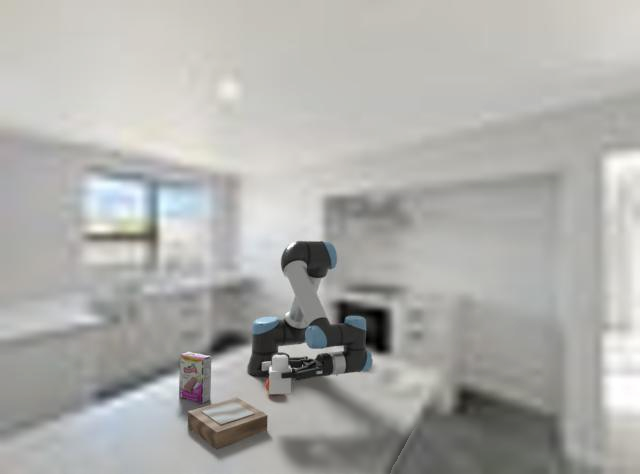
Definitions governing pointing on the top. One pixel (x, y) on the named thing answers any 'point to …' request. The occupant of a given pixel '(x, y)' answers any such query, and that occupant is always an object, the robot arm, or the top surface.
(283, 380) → the medicine bottle
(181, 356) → the candy bar box
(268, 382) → the clementine
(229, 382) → the top surface
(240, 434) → the walnut base
